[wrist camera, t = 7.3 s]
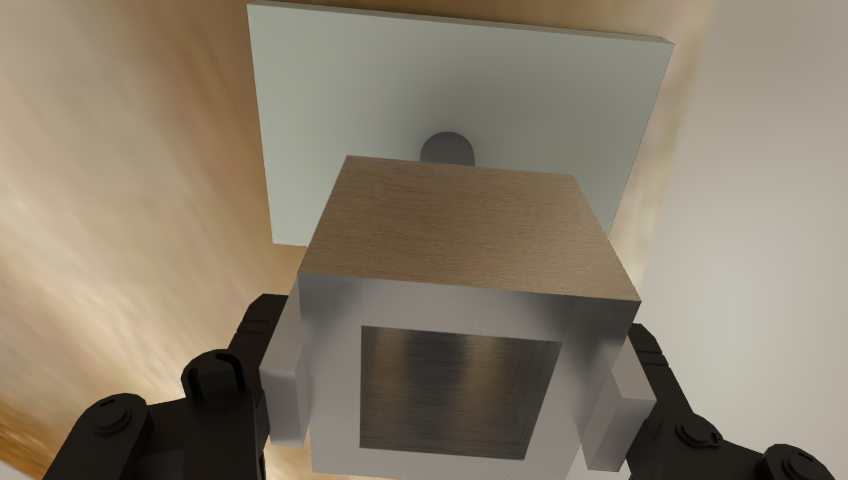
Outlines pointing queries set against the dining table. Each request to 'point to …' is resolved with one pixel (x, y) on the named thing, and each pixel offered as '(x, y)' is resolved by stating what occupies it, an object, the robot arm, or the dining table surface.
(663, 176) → the dining table surface
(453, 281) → the collar
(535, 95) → the post block
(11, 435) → the dining table surface
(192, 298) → the dining table surface
